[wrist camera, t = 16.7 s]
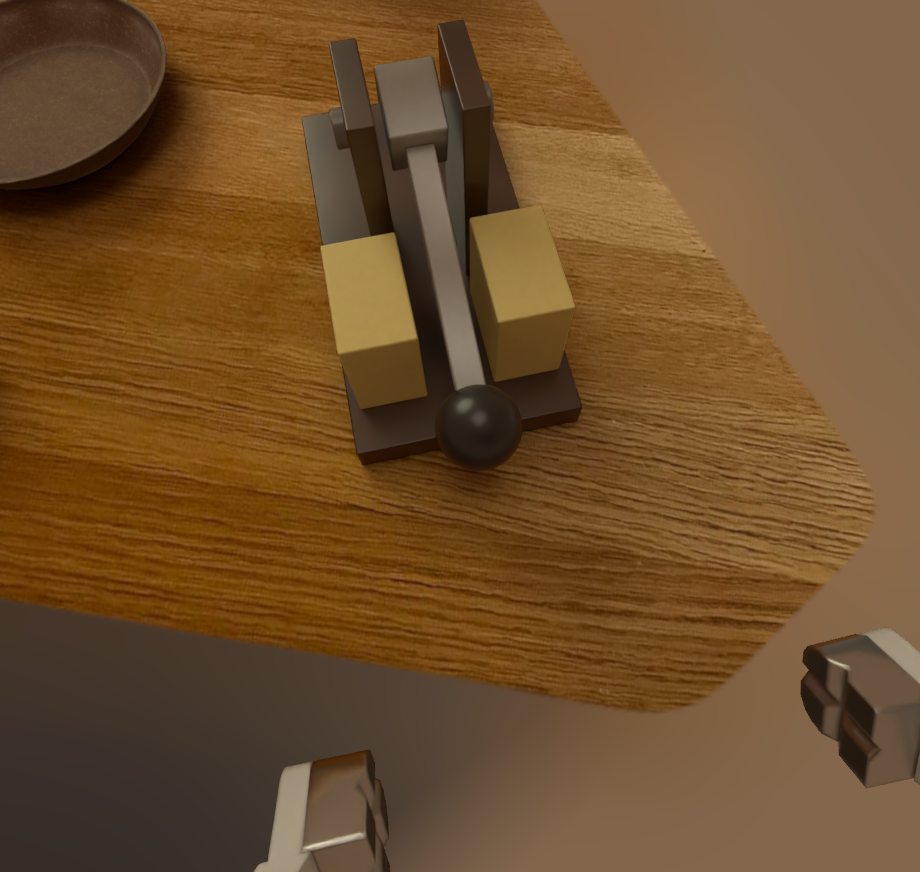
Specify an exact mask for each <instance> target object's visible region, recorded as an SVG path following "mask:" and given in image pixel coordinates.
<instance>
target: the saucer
mask: <svg viewBox="0 0 920 872" xmlns="http://www.w3.org/2000/svg"><path fill="white" fill-rule="evenodd" d="M165 68H166V48H165V44H164V40H163V37H162V35H161V33H160V31H159V29H158V28H157V26H156V25H155V23H154V22H153V21H152V19H151V18H150V17H149V16H148V15H147V14H146V13H145V12H143V11H142V10H141V9H139V8H138V7H136V6H135V5H133V4H131V3H130V2H128V1H126V0H2V1H0V189H5V190H21V189H36V188H44V187H50V186H56V185H60V184H64V183H67V182H71V181H74V180H76V179H79V178H82V177H84V176H87V175H89V174H91V173H93V172H95V171H97V170H99V169H100V168H102V167H104V166H105V165H107V164H108V163H110V162H111V161H113V160H114V159H115V158H117V157H118V156H119V155H120V154H121V153H123V152H124V151H125V150H126V149H127V148H128V147H129V146H130V145H131V144H132V143H133V142H134V141H135V139H136V138H137V137H138V136H139V134H140V133H141V132H142V130H143V129H144V127H145V126H146V124H147V123H148V121H149V119H150V117H151V115H152V113H153V111H154V109H155V107H156V105H157V103H158V100H159V97H160V94H161V90H162V87H163V82H164V76H165Z"/></svg>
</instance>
